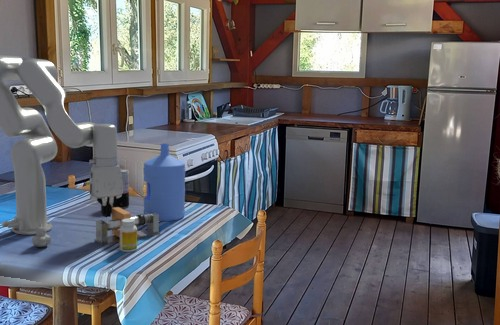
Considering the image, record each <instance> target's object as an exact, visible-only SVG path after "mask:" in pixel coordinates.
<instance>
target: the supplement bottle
mask: <svg viewBox="0 0 500 325" xmlns="http://www.w3.org/2000/svg"><path fill="white" fill-rule="evenodd" d="M122 225H123V226H121V227H120V242H119V250H120V252H123V253H131V252H134V251H137V249H138V239H137V231H138V228H137V226H135V219H131V218H127V219H123V220H122Z"/></svg>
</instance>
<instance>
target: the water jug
mask: <svg viewBox="0 0 500 325" xmlns="http://www.w3.org/2000/svg"><path fill="white" fill-rule="evenodd" d="M159 145H160V149H159V150H160V154H159V155H158V156H155V157H153V158H150V159H148V160H146V161H145V162H143V163H144V164H143V181H144V182H146V195H145V196H144V198H143V215H145V214H147V212H154V213H156V214H159V222H173V221H178V220H181V219H182V218H184V216H185V214H186V209H185V199H186V198H185V196H186V186H185V185H186V182H185V180H186V163H185V162H184V161H182V160H181V159H178V158H176V157H174V156H172V155H170V148H169V146H170V143H160V144H159Z"/></svg>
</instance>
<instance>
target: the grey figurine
mask: <svg viewBox="0 0 500 325" xmlns="http://www.w3.org/2000/svg"><path fill="white" fill-rule="evenodd" d="M51 240H52V238H51V236H50V234H49V235H48V234H47V232H46V228H45V226H44V225H41V222H40V226H39V225H38V226H37V228H36V234H34V236H33V237H31V242H32V245H33V246H35V248H36V247H37V248H42V247H47V246H48V245H50V243H51V242H52V241H51Z"/></svg>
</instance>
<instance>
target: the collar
mask: <svg viewBox="0 0 500 325" xmlns="http://www.w3.org/2000/svg"><path fill="white" fill-rule="evenodd" d="M131 217H132V214H131V212H129V211H127V210H125V209H124V208H122V209H121V208H119V207H115V208H114V207H112V213H111V220H115V219H121V226H123V225H122V220H123V219H127V218H131ZM111 233H112V234H113V236H114V235H116V236H118V237H119V238H120V229H115V230H111Z"/></svg>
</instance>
